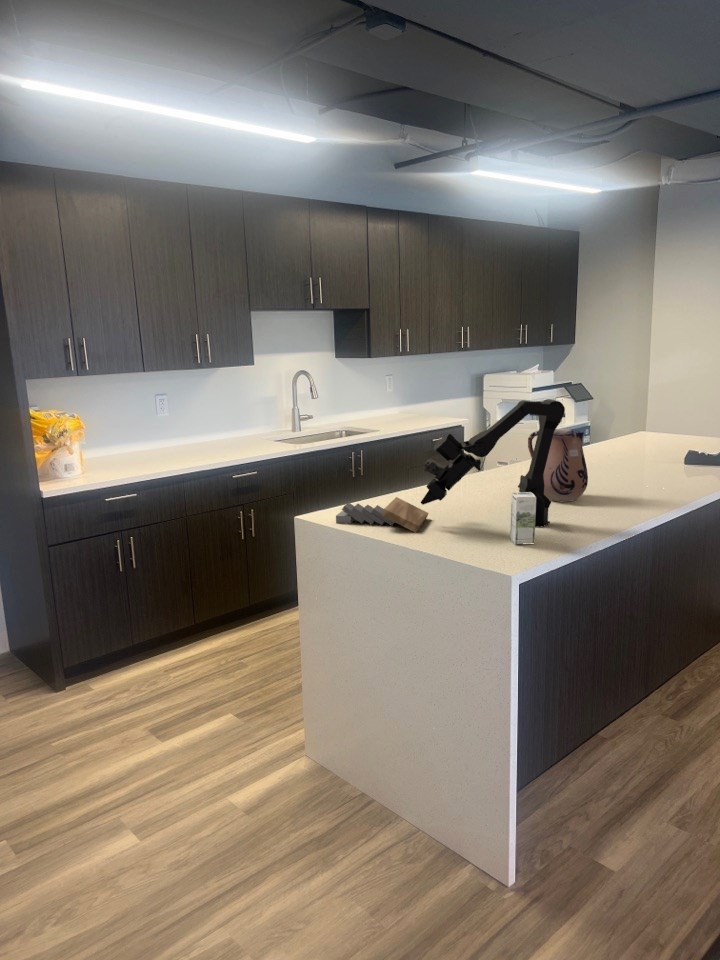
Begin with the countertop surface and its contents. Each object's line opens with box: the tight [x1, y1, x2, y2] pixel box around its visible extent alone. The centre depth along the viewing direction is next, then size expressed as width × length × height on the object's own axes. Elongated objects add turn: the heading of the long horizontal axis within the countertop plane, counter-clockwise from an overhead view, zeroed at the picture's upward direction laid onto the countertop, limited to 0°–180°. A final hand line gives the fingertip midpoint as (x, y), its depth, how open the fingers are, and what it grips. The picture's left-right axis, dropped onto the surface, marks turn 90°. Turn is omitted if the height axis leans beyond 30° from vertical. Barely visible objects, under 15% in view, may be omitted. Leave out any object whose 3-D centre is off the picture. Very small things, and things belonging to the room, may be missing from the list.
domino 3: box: [361, 504, 386, 526], centre depth 225 cm, size 2×5×8 cm
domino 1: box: [341, 502, 366, 524], centre depth 227 cm, size 2×5×8 cm
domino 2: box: [352, 503, 376, 526], centre depth 226 cm, size 2×5×8 cm
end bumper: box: [335, 510, 357, 525], centre depth 229 cm, size 5×6×2 cm
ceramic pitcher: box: [527, 428, 589, 502], centre depth 249 cm, size 18×21×25 cm
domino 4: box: [371, 504, 395, 526], centre depth 225 cm, size 2×5×8 cm
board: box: [382, 496, 429, 533], centre depth 222 cm, size 2×16×12 cm
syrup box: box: [509, 492, 536, 545], centre depth 200 cm, size 6×6×14 cm
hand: (422, 502), depth 220 cm, fingers open, 2 cm apart
